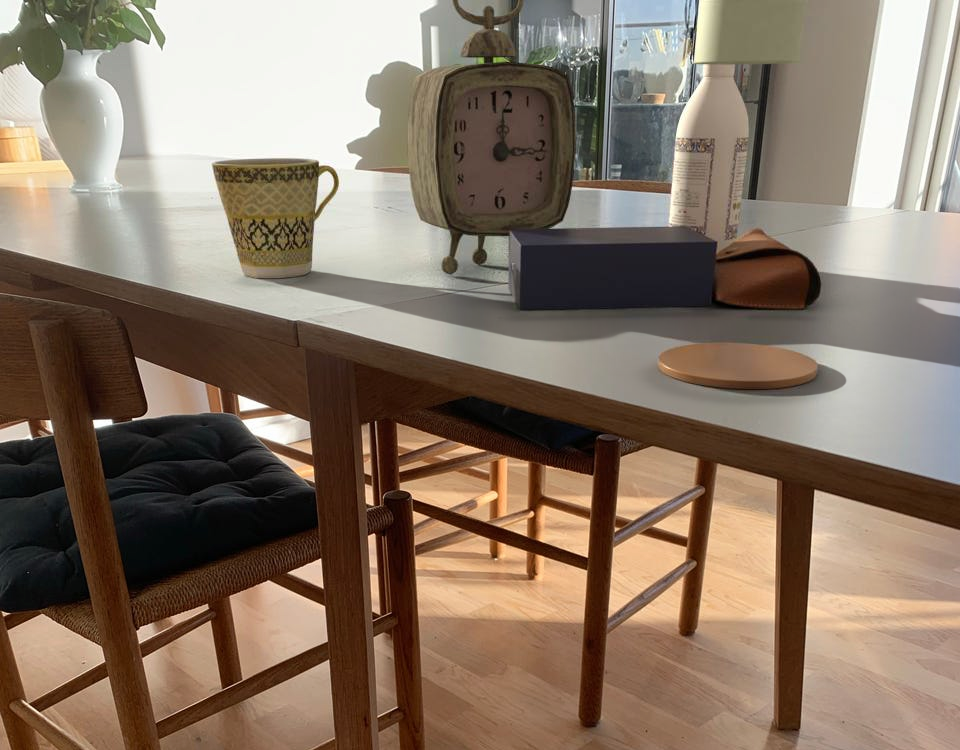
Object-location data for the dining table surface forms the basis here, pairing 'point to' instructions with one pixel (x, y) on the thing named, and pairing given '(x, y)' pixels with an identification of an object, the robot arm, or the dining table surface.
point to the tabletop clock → (490, 141)
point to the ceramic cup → (272, 212)
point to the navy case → (610, 267)
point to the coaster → (738, 365)
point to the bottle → (749, 31)
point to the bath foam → (711, 158)
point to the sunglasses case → (764, 274)
